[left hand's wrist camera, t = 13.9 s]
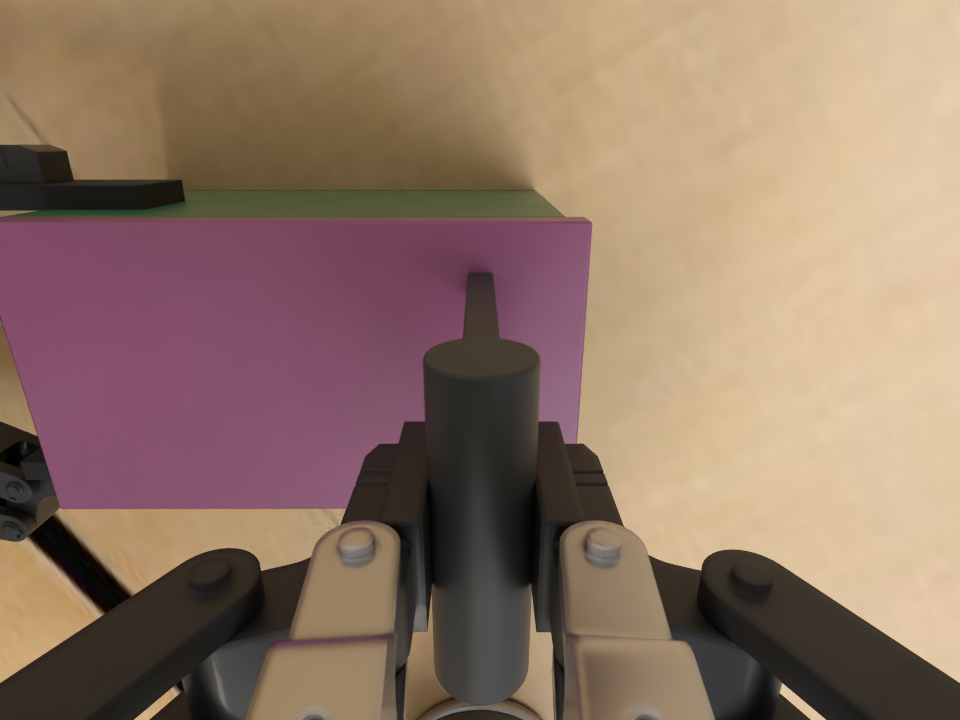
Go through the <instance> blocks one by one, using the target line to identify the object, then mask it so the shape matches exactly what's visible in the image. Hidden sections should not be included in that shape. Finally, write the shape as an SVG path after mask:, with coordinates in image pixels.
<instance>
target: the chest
mask: <svg viewBox="0 0 960 720" xmlns="http://www.w3.org/2000/svg"><path fill="white" fill-rule="evenodd" d="M183 191H184V196H185V201H184V202H179V203H174V204H169V205H164V206H159V207H154V208H149V209H144V210H42V211H36V212H30V213H23V214H17V215H11V216H5V217H565V216H564V215H563V214H562V213H560V212H559V211H558V210H557V209H556V208H555V207H554V206H552V205H551V204H550V203H549V202H548V201H547V200H546V199H545V198H543V197H542V196H541V195H540V194H539V193H538V192H537V191H535V190H183Z"/></svg>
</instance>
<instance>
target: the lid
mask: <svg viewBox="0 0 960 720" xmlns="http://www.w3.org/2000/svg"><path fill="white" fill-rule="evenodd" d="M591 234H592V222H590V221H589V220H588V219H586V218H584V217H0V318H1V321H2V324H3V327H4V330H5V333H6V337H7V340H8V343H9V346H10V349H11V353H12V356H13V359H14V362H15V365H16V368H17V372H18V375H19V378H20V381H21V384H22V387H23V391H24V394H25V397H26V400H27V403H28V406H29V410H30V413H31V416H32V419H33V422H34V425H35V429H36V432H37V435H38V438H39V441H40V445H41V448H42V451H43V454H44V457H45V460H46V464H47V467H48V470H49V473H50V476H51V479H52V483H53V486H54V489H55V492H56V495H57V498H58V502H59V505H60V508H61V509H346V508H347V506H348V503H349V500H350V497H351V495H352V492H353V489H354V486H356V481H357V478H358V475H359V474H360V470H361V467H362V464H363V461H364V459H365V456H366V455H367V454H368V453H370V452H371V451H372V450H373V449H374V448H375V447H376V446H378V445H379V444H398V443H399V439H400V436H401V432H402V428H403V424H404V422H405V421H425V433H426V458H427V478H428V484H429V511H430V537H431V563H432V613H433V639H434V665H435V672H436V675H437V678H438V680H439V682H440V684H441V685H442V687H443V688H444V689H445V690H446V691H447V692H448V693H449V694H450V695H451V696H453V697H454V698H456V699H458V700H460V701H462V702H465V703H468V704H474V705H490V704H495V703H498V702H501V701H503V700H505V699H507V698H509V697H510V696H512V695H513V694H514V693H515V692H516V691H517V690H518V689H519V688H520V687H521V685H522V684H523V682H524V680H525V678H526V675H527V672H528V663H529V639H530V615H531V591H532V588H531V570H532V545H533V521H534V496H535V480H536V470H537V445H538V421H558V422H559V425H560V428H561V432H562V436H563V439H564V443H565V444H577V435H578V421H579V406H580V392H581V378H582V363H583V349H584V334H585V320H586V306H587V291H588V277H589V263H590V248H591Z"/></svg>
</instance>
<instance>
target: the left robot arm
mask: <svg viewBox="0 0 960 720" xmlns="http://www.w3.org/2000/svg"><path fill="white" fill-rule="evenodd" d="M531 588H532V597H533V605H534V614H535V623H536V632H551V635H552V642H553V659H552V686H553V708H554V720H810V719H809V718H808V717H807V716H806V715H804V714H803V713H802V712H801V711H800V710H799V709H797V708H796V707H795V706H794V705H793V704H792V703H790V702H789V701H788V700H787V699H786V698H785V697H784V696H782V695H781V694H780V689H781V685H782V683H783V684H784V685H786V686H787V687H788V688H789V689H790V690H792V691H793V692H794V693H795V694H796V695H798V696H799V697H800V698H801V699H802V700H803V701H805V702H806V703H807V704H808V705H809V706H811V707H812V708H813V709H814V710H815V711H817V712H818V713H819V714H820V715H821V716H823V717H824V718H825V719H826V720H960V683H959V682H957V681H956V680H954V679H953V678H951V677H950V676H948V675H947V674H945V673H944V672H942V671H941V670H939V669H937V668H936V667H934V666H933V665H931V664H930V663H928V662H927V661H925V660H924V659H922V658H921V657H919V656H918V655H916V654H915V653H913V652H912V651H910V650H909V649H907V648H906V647H904V646H903V645H901V644H900V643H898V642H897V641H895V640H894V639H892V638H890V637H889V636H887V635H886V634H884V633H883V632H881V631H880V630H878V629H877V628H875V627H874V626H872V625H871V624H869V623H868V622H866V621H865V620H863V619H862V618H860V617H859V616H857V615H856V614H854V613H853V612H851V611H850V610H848V609H846V608H845V607H843V606H842V605H840V604H839V603H837V602H836V601H834V600H833V599H831V598H830V597H828V596H827V595H825V594H824V593H822V592H821V591H819V590H818V589H816V588H815V587H813V586H812V585H810V584H809V583H807V582H806V581H804V580H803V579H801V578H799V577H798V576H796V575H795V574H793V573H792V572H790V571H789V570H787V569H786V568H784V567H783V566H781V565H780V564H778V563H776V562H775V561H773V560H771V559H769V558H767V557H764V556H762V555H759V554H756V553H752V552H748V551H743V550H722V551H718V552H715V553H713V554H711V555H709V556H708V557H707V558H706V559H705V560H704V562H703V564H702V570H701V571H700V570H695V569H691V568H686V567H682V566H678V565H673V564H670V563H666V562H663V561H661V560H658V559H656V558H654V557H652V556H649V555H648V553H647V550H646V547H645V545H644V543H643V542H642V540H641V539H640V538H639V537H638V536H637V535H636V534H634V533H633V532H632V531H630V530H629V529H627V528H625V527H624V526H623V523H622V520H621V518H620V515H619V512H618V510H617V507H616V504H615V502H614V499H613V496H612V493H611V491H610V488H609V486H608V483H607V480H606V477H605V475H604V474H603V469H602V467H601V464H600V461H599V458H598V456H597V455H596V454H594V453H593V452H592V451H591V450H590V449H589V448H588V447H586V446H585V445H584V444H565V443H564V439H563V436H562V432H561V428H560V425H559V422H558V421H538V445H537V470H536V480H535V496H534V521H533V545H532V570H531ZM431 590H432V563H431V537H430V511H429V484H428V478H427V458H426V433H425V421H405V422H404V424H403V428H402V432H401V436H400V439H399V443H398V444H379V445H378V446H376V447H375V448H374V449H373V450H372V451H371V452H370V453H368V454H367V455H366V456H365V459H364V461H363V464H362V467H361V470H360V474H359V475H358V478H357V481H356V486H354V489H353V492H352V495H351V497H350V500H349V503H348V506H347V508H346V511H345V514H344V517H343V519H342V522H341V525H340V526H337V527H335V528H333V529H331V530H330V531H328V532H327V533H326V534H324V535H323V536H322V537H321V538H320V539H319V540H318V542H317V543H316V545H315V547H314V550H313V553H312V556H311V557H310V558H308V559H306V560H303V561H300V562H297V563H294V564H290V565H286V566H281V567H277V568H272V569H268V570H264V571H261V568H260V563H259V561H258V559H257V558H256V557H255V556H254V555H253V554H252V553H250V552H248V551H245V550H242V549H235V548H225V549H217V550H212V551H208V552H205V553H202V554H199V555H197V556H195V557H193V558H190V559H189V560H187V561H185V562H183V563H182V564H180V565H179V566H177V567H176V568H174V569H173V570H171V571H170V572H168V573H167V574H165V575H164V576H162V577H161V578H159V579H158V580H156V581H154V582H153V583H151V584H150V585H148V586H147V587H145V588H144V589H142V590H141V591H139V592H138V593H136V594H135V595H133V596H132V597H130V598H129V599H127V600H126V601H124V602H123V603H121V604H120V605H118V606H117V607H115V608H114V609H112V610H110V611H109V612H107V613H106V614H104V615H103V616H101V617H100V618H98V619H97V620H95V621H94V622H92V623H91V624H89V625H88V626H86V627H85V628H83V629H82V630H80V631H79V632H77V633H76V634H74V635H73V636H71V637H70V638H68V639H67V640H65V641H63V642H62V643H60V644H59V645H57V646H56V647H54V648H53V649H51V650H50V651H48V652H47V653H45V654H44V655H42V656H41V657H39V658H38V659H36V660H35V661H33V662H32V663H30V664H29V665H27V666H26V667H24V668H23V669H21V670H19V671H18V672H16V673H15V674H13V675H12V676H10V677H9V678H7V679H6V680H4V681H3V682H1V683H0V720H134V719H135V718H136V717H137V716H139V715H140V714H141V713H142V712H143V711H145V710H146V709H147V708H148V707H149V706H151V705H152V704H153V703H154V702H155V701H157V700H158V699H159V698H160V697H161V696H162V695H164V694H165V693H166V692H167V691H168V690H170V689H171V688H172V687H173V686H174V685H176V684H177V683H178V682H179V681H180V680H182V682H183V686H184V690H183V691H182V692H181V693H180V694H179V695H178V696H176V697H175V698H174V699H173V700H172V701H171V702H170V703H168V704H167V705H166V706H165V707H164V708H163V709H161V710H160V711H159V712H158V713H157V714H156V715H154V716H153V717H152V718H151V719H150V720H406V708H407V686H408V659H407V658H408V656H409V653H410V648H411V641H412V634H413V632H427V628H428V619H429V609H430V600H431ZM419 720H541V719H540V718H539V717H538V716H537V715H535V714H534V713H533V712H532V711H530V710H529V709H527V708H525V707H523V706H522V705H519V704H517V703H515V702H512V701H509V700H503V701H501V702H498V703H495V704H490V705H474V704H468V703H465V702H462V701H460V700H458V699H454V700H450V701H447V702H444V703H442V704H440V705H438V706H436V707H434V708H432V709H431V710H429V711H428V712H426V713H425V714H424V715H423V716H422V717H421V718H420V719H419Z"/></svg>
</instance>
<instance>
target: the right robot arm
mask: <svg viewBox="0 0 960 720" xmlns="http://www.w3.org/2000/svg"><path fill="white" fill-rule="evenodd" d="M184 201H185V196H184V191H183V185H182V180H74V179H73V175H72V171H71V167H70V163H69V159H68V155H67V151H65V150H62V149H60V148H57V147H54V146H52V145H0V210H144V209H149V208H154V207H159V206H164V205H169V204H174V203H179V202H184ZM59 508H60V505H59V502H58V498H57V495H56V492H55V489H54V486H53V483H52V479H51V476H50V473H49V470H48V467H47V464H46V460H45V457H44V454H43V451H42V448H41V445H40V441H39V438H38V436H35V435H33V434H30V433H28V432H25V431H23V430H20V429H18V428H15V427H13V426H10V425H8V424H5V423H3V422H0V539H2V540H7V541H15V542H19V541H22V540H24V539H25V538H26V537H27V536H28V535H30V534H31V533H32V532H33V531H34V530H35V529H37V528H38V527H39V526H40V525H41V524H42V523H43V522H45V521H46V520H47V519H48V518H49V517H50V516H52V515H53V514H54V513H55V512H56V511H57V510H58V509H59Z"/></svg>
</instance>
